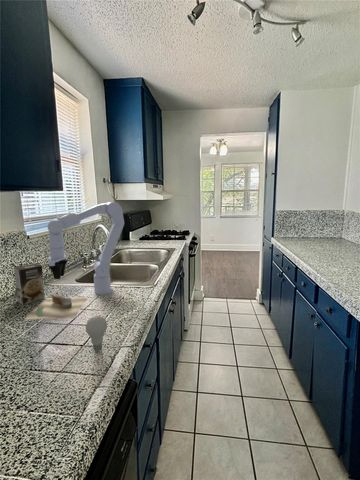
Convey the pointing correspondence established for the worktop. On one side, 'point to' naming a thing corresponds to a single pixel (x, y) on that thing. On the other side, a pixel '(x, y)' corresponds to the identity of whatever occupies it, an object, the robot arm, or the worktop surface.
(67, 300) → the lever
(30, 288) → the coffee box
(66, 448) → the worktop surface
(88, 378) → the worktop surface
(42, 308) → the dial board
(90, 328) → the lightbulb
